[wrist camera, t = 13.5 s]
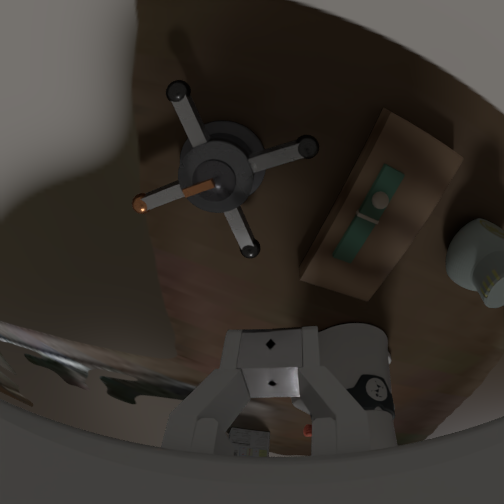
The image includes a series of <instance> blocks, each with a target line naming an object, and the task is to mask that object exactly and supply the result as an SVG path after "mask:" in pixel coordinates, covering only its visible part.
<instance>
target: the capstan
mask: <svg viewBox="0 0 504 504" xmlns="http://www.w3.org/2000/svg"><path fill="white" fill-rule="evenodd" d="M190 93H191V89H190V86H189V85H188V83H186V82H185V81H182V80H176V81H173V82H171V83H170V84H169V85H168V87H167V89H166V96H167V98H168V100H169V101H171V102H172V104H173V106H174V108H175V110H176V112H177V114H178V117H179V119H180V121H181V123H182V125H183V127H184V129H185V132H186V134H187V136H188V138H189V140H190V142H191V144H192V146H193V147H192V149H191V150H190V151H189V152H188V153H187V155H186V156H185V157H184V158H183V160H182V162H181V164H180V167H179V172H178V180H177V181H175V182H172V183H170V184H167V185H165V186H162V187H160V188H157V189H155V190H152V191H150V192H148V193H140V194H137V195H136V196H135V197H134V198H133V202H132V207H133V209H134V210H135V211H136V212H137V213H139V214H145V213H147V212H149V211H150V209H152V208H155V207H158V206H160V205H163V204H166V203H168V202H171V201H174V200H176V199H179V198H182V197H185V198H187V199H188V200H189V201H190V202H191V203H192V204H193V205H195V206H196V207H198V208H200V209H202V210H205V211H209V212H215V213H221V212H224V214H225V216H226V218H227V220H228V222H229V225H230V227H231V229H232V231H233V233H234V235H235V237H236V239H237V241H238V243H239V245H240V252H241V254H242V255H243V256H244V257H246V258H254V257H256V256H257V255H258V254H259V252H260V244H259V242H258V241H257V240H256V239H255V238H254V235H253V233H252V231H251V229H250V226H249V224H248V222H247V220H246V217H245V215H244V213H243V211H242V208H241V206H240V205H241V204H242V203H244V202H245V200H246V199H247V198H248V196H249V194H250V192H251V189H252V185H253V180H254V175H255V172H258V171H261V170H265V169H268V168H271V167H274V166H278V165H281V164H284V163H288V162H291V161H295V160H298V159H301V158H305V159H310V158H313V157H314V156H315V155H316V154H317V153H318V151H319V143H318V141H317V140H316V139H315V138H314V137H313V136H311V135H302V136H300V137H299V138H298V139H297V140H294V141H291V142H287V143H284V144H281V145H278V146H274V147H271V148H268V149H265V150H262V151H259V152H256V153H253V152H252V150H251V149H250V147H249V146H248V145H247V144H246V143H245V142H244V141H243V140H241V139H240V138H238V137H236V136H234V135H231V134H227V133H214V134H210V135H209V134H208V132H207V130H206V128H205V125H204V123H203V121H202V119H201V117H200V114H199V112H198V110H197V108H196V106H195V103H194V101H193V99H192V97H191V94H190Z"/></svg>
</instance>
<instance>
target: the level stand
mask: <svg viewBox="0 0 504 504" xmlns="http://www.w3.org/2000/svg"><path fill="white" fill-rule="evenodd" d="M463 159H464V158H463V157H462V156H460V155H459V154H458V153H456V152H455V151H454V150H452V149H451V148H449V147H448V146H446V145H445V144H443V143H442V142H440V141H439V140H437V139H436V138H434V137H433V136H431V135H430V134H428V133H427V132H425V131H423V130H422V129H420V128H418V127H417V126H415V125H414V124H412V123H410V122H408V121H407V120H405V119H403V118H402V117H400V116H398V115H396V114H395V113H393V112H391V111H389V110H387V109H386V108H384V107H383V109H382V111H381V113H380V115H379V118H378V120H377V122H376V124H375V126H374V128H373V130H372V132H371V134H370V136H369V138H368V140H367V142H366V144H365V146H364V148H363V150H362V152H361V154H360V156H359V158H358V160H357V161H356V163H355V165H354V167H353V169H352V171H351V173H350V175H349V177H348V179H347V181H346V183H345V185H344V186H343V188H342V190H341V192H340V194H339V196H338V198H337V200H336V202H335V203H334V205H333V207H332V209H331V211H330V213H329V215H328V216H327V218H326V220H325V222H324V224H323V226H322V227H321V229H320V231H319V233H318V235H317V236H316V238H315V240H314V242H313V244H312V245H311V247H310V249H309V251H308V253H307V254H306V256H305V258H304V260H303V261H302V263H301V265H300V267H299V274H300V280H301V281H304V282H307V283H310V284H313V285H316V286H319V287H323V288H326V289H329V290H332V291H335V292H338V293H342V294H345V295H348V296H351V297H354V298H358V299H361V300H364V301H367V302H368V301H369V299H370V298H371V297H372V296H373V294H374V293H375V292H376V290H377V289H378V288H379V286H380V285H381V284H382V283H383V281H384V280H385V279H386V277H387V276H388V275H389V273H390V272H391V271H392V269H393V268H394V266H395V265H396V264H397V262H398V261H399V260H400V258H401V257H402V255H403V254H404V253H405V251H406V250H407V248H408V247H409V245H410V244H411V243H412V241H413V240H414V238H415V237H416V235H417V234H418V232H419V231H420V229H421V228H422V226H423V225H424V223H425V222H426V220H427V219H428V217H429V216H430V214H431V212H432V211H433V209H434V208H435V206H436V205H437V203H438V201H439V200H440V198H441V197H442V195H443V193H444V192H445V190H446V188H447V187H448V185H449V183H450V182H451V180H452V178H453V176H454V175H455V173H456V171H457V169H458V168H459V166H460V164H461V162H462V161H463Z"/></svg>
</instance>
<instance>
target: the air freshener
mask: <svg viewBox="0 0 504 504" xmlns="http://www.w3.org/2000/svg"><path fill="white" fill-rule="evenodd" d="M446 271H447V274H448V276H449V277H450V278H451V279H452V280H453V281H454V282H455V283H457V284H458V285H460V286H462V287H464V288H466V289H469V290H473V291H478V293H479V294H480V296H481V298H482V300H483V301H484V303H485V305H486V306H487V307H490V308H498V307H501V306H503V305H504V230H503V229H501V228H500V227H498V226H497V225H495V224H493V223H491V222H489V221H487V220H484V219H480V218H478V219H475V220H473V221H471V222H469V223H467V224H466V225H465V226H463V227H462V228H461V229H460V230H459V231H458V232H457V234H456V235H455V236H454V238H453V239H452V241H451V243H450V245H449V248H448V251H447V255H446Z"/></svg>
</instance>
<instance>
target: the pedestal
mask: <svg viewBox="0 0 504 504" xmlns="http://www.w3.org/2000/svg"><path fill="white" fill-rule="evenodd" d="M205 128H206V130H207V132H208V134H209V135H210V134H214V133H227V134H231V135H234V136H236V137H238V138H240V139H241V140H243V141H244V142H245V143H246V144H247V145H248V146H249V147H250V149H251V150H252V152H253V153H256V152H259V151H262V150H264V147H263V145H262V143H261V141H260V140H259V138H258V137H257V136H256V135H255V134H254V133H253V132H252V131H251V130H250V129H248V128H247V127H245V126H243V125H241V124H239V123H236V122H232V121H213V122H210V123H207V124H205ZM192 147H193V146H192V144H191V142H190V140H189V138H188V139H187V140H186V142H185V143H184V145H183V148H182V151H181V155H180V164H181V162H182V160H183V158H184V157H185V156H186V155H187V153H188V152H189V151H190V150H191V149H192ZM265 170H266V169H265ZM265 170H261V171H258V172H255V175H254V180H253V185H252V189H251V192H250V194H249V195H251V194H252V193H253V192H254V191H255V190H256V189H257V188H258V187H259V185H260V184H261V182H262V180H263V178H264V175H265Z"/></svg>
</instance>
